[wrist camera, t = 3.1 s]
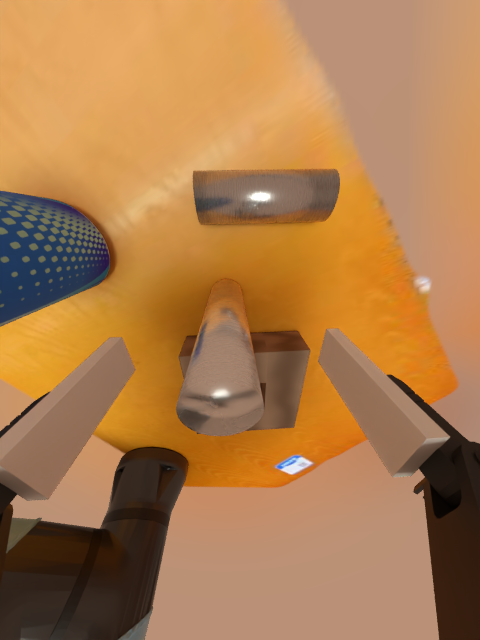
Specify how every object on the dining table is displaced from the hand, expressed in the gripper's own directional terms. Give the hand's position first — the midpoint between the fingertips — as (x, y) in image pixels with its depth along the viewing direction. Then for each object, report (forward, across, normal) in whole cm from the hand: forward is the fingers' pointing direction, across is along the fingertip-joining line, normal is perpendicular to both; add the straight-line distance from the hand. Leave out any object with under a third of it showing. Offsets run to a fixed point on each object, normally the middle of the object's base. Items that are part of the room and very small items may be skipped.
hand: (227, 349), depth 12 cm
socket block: (+12, +2, -14) cm, 19 cm away
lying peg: (+12, +4, +11) cm, 16 cm away
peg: (+12, 0, 0) cm, 12 cm away
